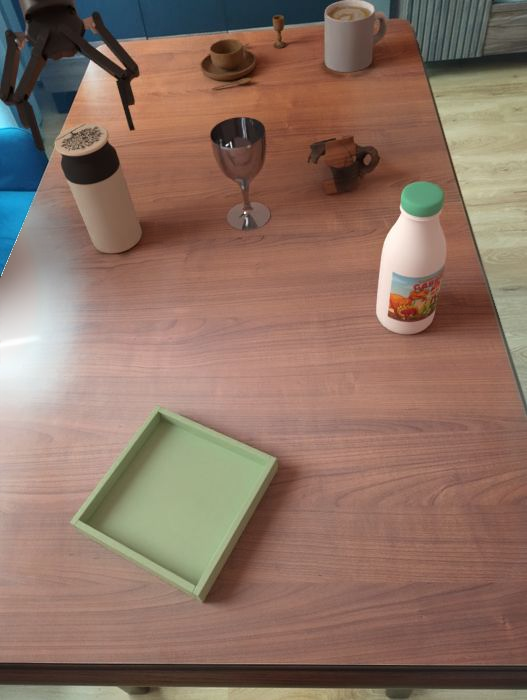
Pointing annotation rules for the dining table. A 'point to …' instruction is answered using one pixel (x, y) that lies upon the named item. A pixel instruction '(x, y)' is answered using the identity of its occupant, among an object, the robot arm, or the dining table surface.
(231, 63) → the place setting
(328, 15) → the coffee mug
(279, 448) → the dining table surface
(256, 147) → the wine glass
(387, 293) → the milk bottle
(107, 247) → the travel mug
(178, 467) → the tray
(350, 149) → the pottery mug
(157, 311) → the dining table surface
